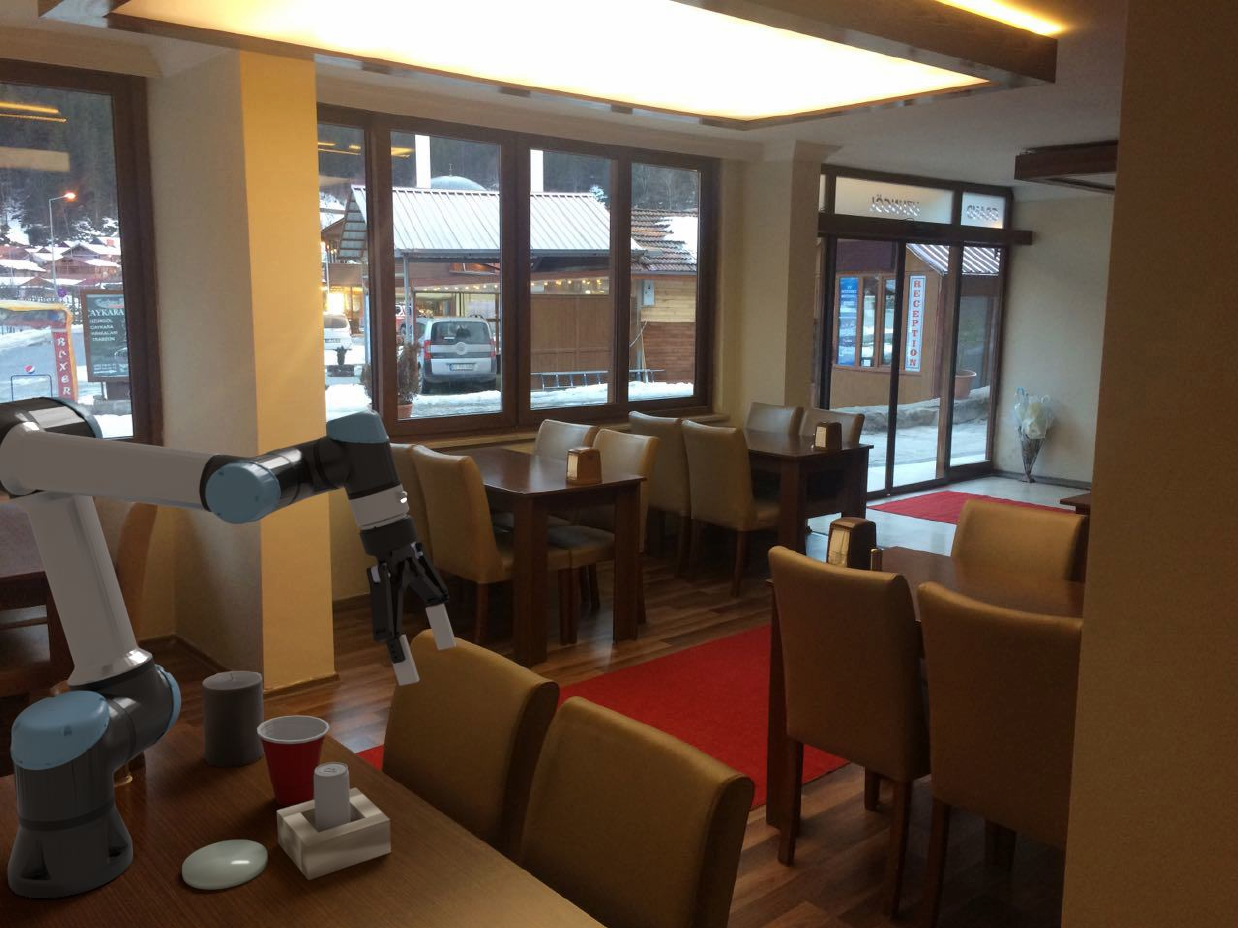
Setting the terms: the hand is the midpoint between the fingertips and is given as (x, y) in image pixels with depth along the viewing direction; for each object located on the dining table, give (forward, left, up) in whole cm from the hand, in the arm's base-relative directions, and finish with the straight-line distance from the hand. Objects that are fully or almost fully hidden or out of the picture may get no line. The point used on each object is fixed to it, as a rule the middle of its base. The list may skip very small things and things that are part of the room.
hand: (429, 664), depth 143 cm
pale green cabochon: (-12, -26, -27) cm, 39 cm away
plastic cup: (-26, -11, -27) cm, 39 cm away
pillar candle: (-47, -14, -27) cm, 56 cm away
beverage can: (-8, -12, -27) cm, 31 cm away
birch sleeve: (-8, -12, -27) cm, 31 cm away
